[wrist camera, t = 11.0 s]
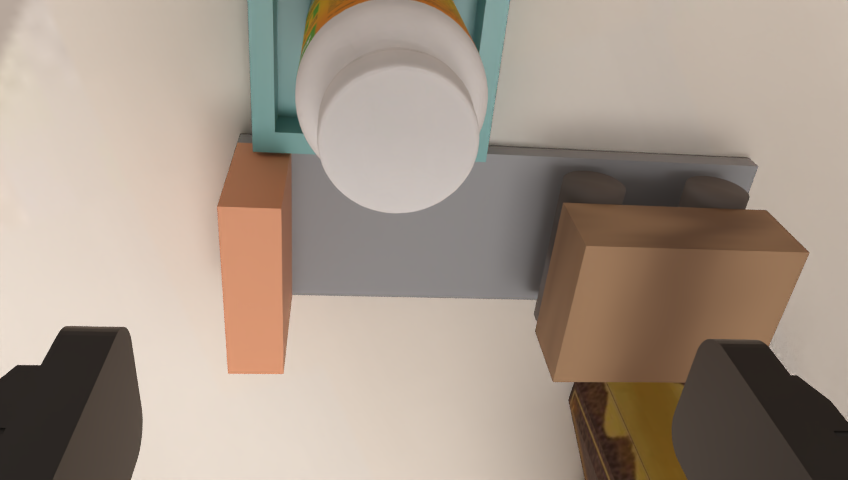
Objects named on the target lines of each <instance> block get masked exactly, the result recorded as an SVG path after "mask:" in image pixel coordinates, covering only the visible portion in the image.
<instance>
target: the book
mask: <svg viewBox="0 0 848 480" xmlns="http://www.w3.org/2000/svg"><path fill="white" fill-rule="evenodd" d="M684 385H685V383H665V382H574V385H573V388H572V391H571V395H570V398H569V404H570V409H571V414H572V419H573V424H574V429H575V434H576V438H577V443H578V448H579V453H580V458H581V463H582V468H583V472H584V477H585V480H687V478H686V476H685V474H684V472H683V470H682V468H681V466H680V464H679V462H678V459H677V457H676V454H675V451H674V447H673V442H672V420H673V415H674V412H675V409H676V407H677V404H678V401H679V399H680V396H681V393H682V390H683V388H684Z"/></svg>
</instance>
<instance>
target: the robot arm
mask: <svg viewBox="0 0 848 480" xmlns="http://www.w3.org/2000/svg"><path fill="white" fill-rule="evenodd" d="M142 420H143V419H142V407H141V401H140V394H139V387H138V381H137V374H136V368H135V361H134V354H133V348H132V341H131V336H130V333H129V331H128V329H127V328H125V327H91V326H65V327H64V328H62V329H61V330H60V332H59V333H58V335H57V337H56V339H55V340H54V342H53V344H52V346H51V348H50V349H49V351H48V353H47V355H46V357H45V358H44V360H43V362H42V364H41V365H17V366H15V367H14V368H13V369H12V370H10V371H9V372H8V373H7V374H6V375H4V376H3V377H2V378H1V379H0V480H131V477H132V474H133V471H134V468H135V465H136V462H137V459H138V455H139V451H140V445H141V438H142ZM672 442H673V447H674V451H675V454H676V457H677V459H678V462H679V464H680V466H681V468H682V470H683V472H684V474H685V476H686V478H687V480H848V422H847V421H846V420H845V418H844V417H843V416H842V415H841V413H840V412H839V411H838V410H837V408H836V407H835V406H834V405H833V403H832V402H831V401H830V400H829V399H827V398H826V397H825V396H823V395H822V394H821V393H819V392H818V391H817V390H815V389H814V388H813V387H811V386H810V385H809V384H807V383H806V382H805V381H804V380H802V379H801V378H800V377H798V376H793V375H790V374H789V373H788V372H787V370H786V369H785V368H784V366H783V365H782V364H781V362H780V361H779V360H778V358H777V357H776V356H775V355H774V353H773V352H772V351H771V349H770V348H769V347H768V346H767V345H766V344H765V343H764V342H762V341H760V340H748V339H707V340H705V341H703V342H702V343H701V345H700V346H699V348H698V350H697V352H696V355H695V358H694V360H693V363H692V366H691V369H690V371H689V374H688V377H687V379H686V382H685V385H684V388H683V390H682V393H681V396H680V399H679V401H678V404H677V407H676V409H675V412H674V415H673V420H672Z"/></svg>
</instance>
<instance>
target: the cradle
mask: <svg viewBox="0 0 848 480" xmlns="http://www.w3.org/2000/svg"><path fill="white" fill-rule="evenodd" d="M311 1H312V0H248V28H249V57H250V86H251V115H252V144H253V152H270V153H292V154H314V155H316V153H315V152H314V151H313V149H312V148H311V147H310V145H309V144H308V142H307V140H306V138H305V136H304V134H303V132H302V129H301V127H300V124H299V120H298V116H297V111H296V103H295V88H296V77H297V71H298V67H299V61H300V56H301V50H302V44H303V38H304V31H305V24H306V18H307V14H308V10H309V7H310V4H311ZM453 1H454V3H455V5H456V8H457V10H458V12H459V14H460V16H461V18H462V20H463V22H464V24H465V26H466V28H467V30H468V32H469V34H470V36H471V38H472V40H473V42H474V44H475V46H476V48H477V50H478V52H479V55H480V57H481V60H482V63H483V66H484V70H485V74H486V79H487V87H488V102H487V110H486V115H485V119H484V122H483V125H482V128H481V131H480V133H479V147H478V153H477V157H476V160H475V162H486V158H487V151H488V144H489V138H490V131H491V124H492V117H493V111H494V104H495V97H496V91H497V84H498V77H499V70H500V64H501V57H502V50H503V44H504V37H505V30H506V24H507V17H508V10H509V3H510V0H453Z"/></svg>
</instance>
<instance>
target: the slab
mask: <svg viewBox="0 0 848 480" xmlns="http://www.w3.org/2000/svg"><path fill="white" fill-rule="evenodd" d="M625 192H626V189H625V186H624V185H623V184H622V183H621V182H620V181H618V180H617V179H615V178H613V177H611V176H609V175H606V174H602V173H599V172H594V171H573V172H569V173H567V174H566V175H564V177H563V180H562V184H561V189H560V194H559V199H558V203H557V208H556V213H555V217H554V222H553V227H552V231H551V236H550V241H549V246H548V250H547V255H546V260H545V264H544V269H543V274H542V278H541V283H540V288H539V293H538V297H537V302H536V307H535V311H534V316H535V319H536V320H537V325H536V330H535V332H536V335H537V338H538V341H539V344H540V347H541V349H542V352H543V355H544V358H545V361H546V364H547V366H548V369H549V372H550V375H551V378H552V380H553V382H665V383H685V382H686V379H687V377H688V374H689V371H690V369H691V366H692V363H693V360H694V358H695V355H696V352H697V350H698V348H699V346H700V345H701V343H702V342H703V341H705V340H707V339H748V340H760V341H762V342H764V343H765V344H766V345H767V346H768V347H769V344H770V342H771V340H772V337H773V335H774V333H775V331H776V328H777V326H778V324H779V321H780V319H781V317H782V315H783V312H784V310H785V308H786V305H787V303H788V301H789V298H790V296H791V294H792V292H793V289H794V287H795V285H796V282H797V280H798V278H799V276H800V273H801V271H802V269H803V266H804V264H805V262H806V260H807V257H808V255H809V252H808V251H807V250H806V249H805V248H804V247H803V246H802V245H801V244H800V243H799V242H798V241H797V240H796V239H795V238H794V237H793V236H792V235H791V234H790V233H789V232H788V231H787V230H786V229H785V228H784V227H783V226H782V225H781V224H780V223H779V222H778V221H777V220H776V219H775V218H774V217H773V216H772V215H771V214H770V213H769V212H768V211H767V210H745V208H746V206H747V203H748V200H749V194H748V193H747V191H746V190H744V189H743V188H742V187H740V186H739V185H737V184H735V183H732V182H730V181H727V180H724V179H721V178H717V177H711V176H694V177H690V178H688V179H687V180H686V183H685V186H684V189H683V192H682V195H681V199H680V202H679V205H678V207H665V206H638V205H622V203H623V200H624V196H625Z"/></svg>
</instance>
